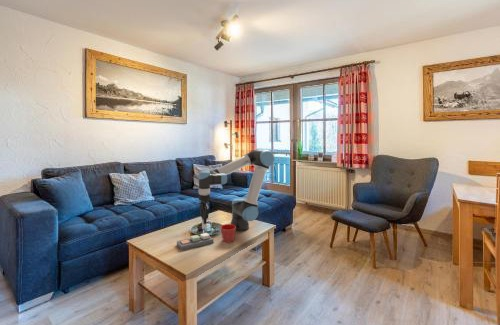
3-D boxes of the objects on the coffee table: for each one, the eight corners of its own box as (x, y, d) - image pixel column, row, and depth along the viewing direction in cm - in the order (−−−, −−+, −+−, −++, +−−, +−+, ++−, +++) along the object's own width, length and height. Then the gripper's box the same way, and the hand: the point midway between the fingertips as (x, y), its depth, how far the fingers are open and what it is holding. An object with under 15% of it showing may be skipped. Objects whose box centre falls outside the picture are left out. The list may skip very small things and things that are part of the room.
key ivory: (206, 235, 180) (206, 232, 180) (209, 238, 176) (209, 235, 176) (200, 237, 178) (200, 234, 177) (203, 239, 174) (202, 236, 173)
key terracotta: (187, 242, 173) (187, 239, 173) (189, 245, 169) (189, 242, 169) (180, 244, 170) (180, 241, 170) (182, 246, 166) (182, 243, 166)
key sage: (197, 237, 176) (197, 234, 176) (199, 240, 172) (199, 237, 172) (190, 239, 174) (190, 236, 174) (193, 241, 170) (193, 238, 170)
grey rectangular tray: (207, 237, 184) (207, 234, 183) (213, 242, 175) (213, 239, 175) (176, 244, 172) (176, 241, 171) (181, 250, 163) (181, 246, 163)
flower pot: (221, 243, 174) (221, 230, 173) (220, 237, 185) (220, 224, 183) (236, 242, 176) (236, 228, 175) (234, 236, 187) (234, 223, 186)
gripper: (195, 192, 177) (195, 225, 179) (202, 196, 166) (202, 231, 168) (205, 191, 181) (205, 224, 183) (213, 195, 170) (213, 229, 173)
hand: (204, 227), depth 176 cm, fingers closed
